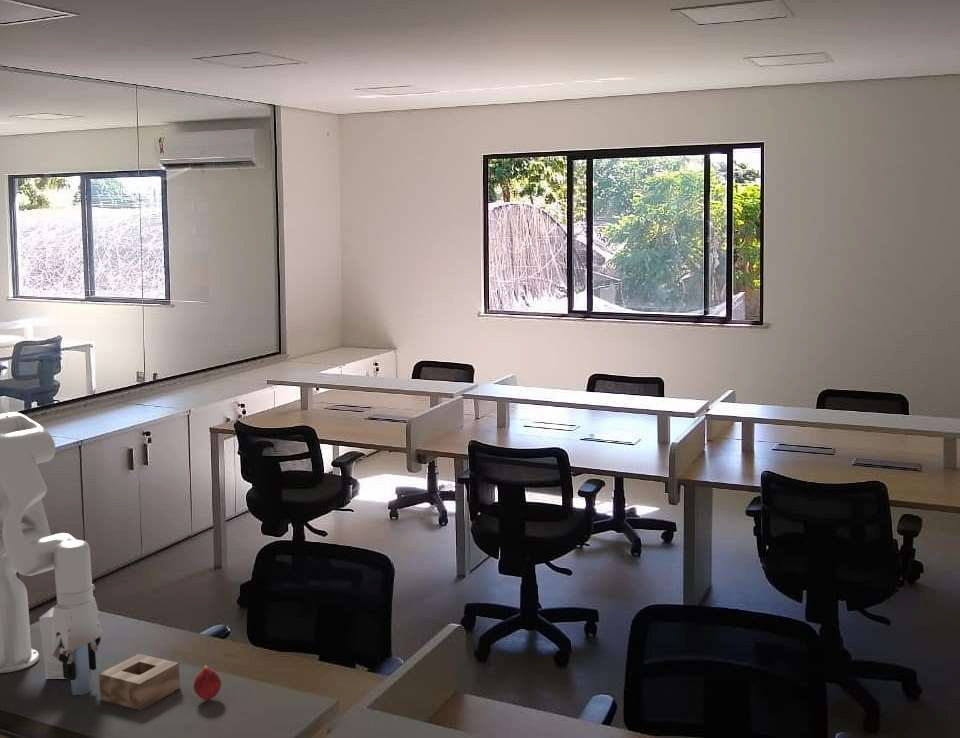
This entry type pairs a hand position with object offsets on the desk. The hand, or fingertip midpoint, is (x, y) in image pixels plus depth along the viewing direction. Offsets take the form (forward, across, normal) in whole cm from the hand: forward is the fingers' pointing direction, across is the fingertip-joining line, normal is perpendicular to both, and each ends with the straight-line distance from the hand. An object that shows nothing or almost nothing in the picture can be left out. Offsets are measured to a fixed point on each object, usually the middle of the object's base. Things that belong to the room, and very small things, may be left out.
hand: (80, 672), depth 234 cm
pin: (+4, 0, 0) cm, 4 cm away
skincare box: (+5, -5, -10) cm, 12 cm away
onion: (+5, -9, +29) cm, 31 cm away
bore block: (+4, -5, +13) cm, 15 cm away
